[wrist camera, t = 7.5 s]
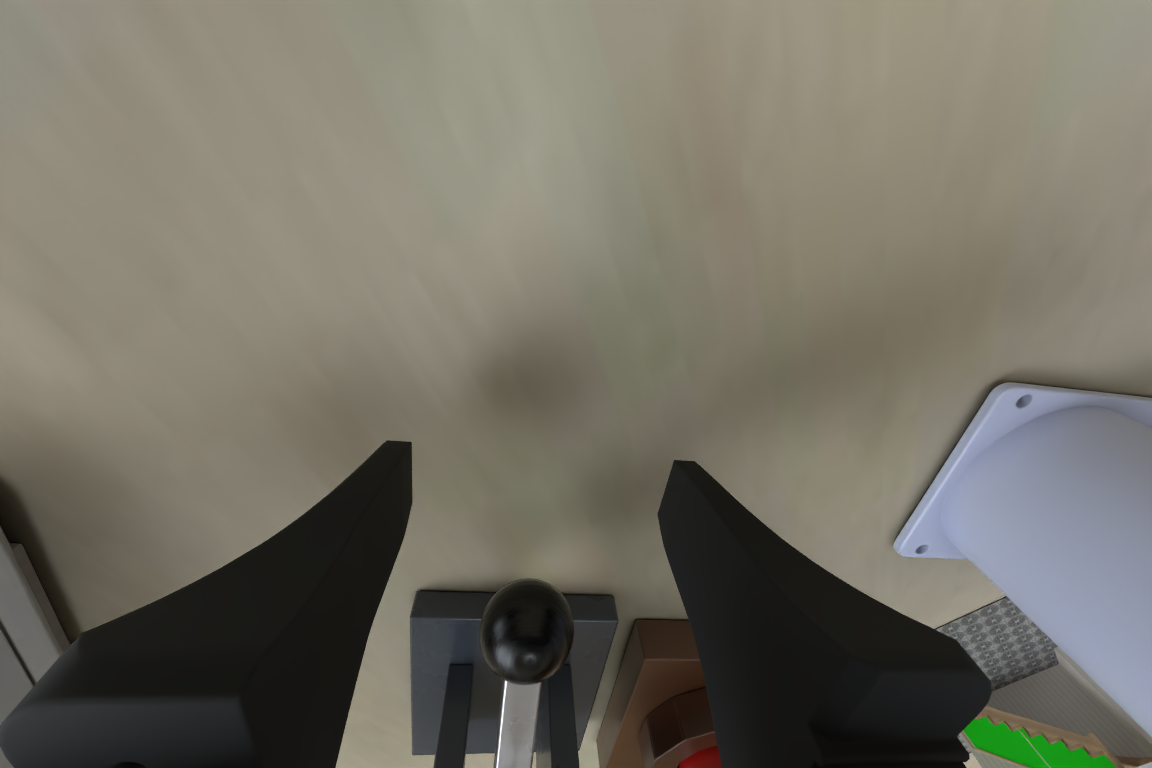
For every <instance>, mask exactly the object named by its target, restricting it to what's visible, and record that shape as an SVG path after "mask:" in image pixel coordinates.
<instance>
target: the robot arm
mask: <svg viewBox="0 0 1152 768" xmlns="http://www.w3.org/2000/svg"><path fill="white" fill-rule="evenodd" d="M411 506H412V442H403V441H389V440H387V441H386V442H385V443H383V444H382V445H381V446H380V447H379V448H378V449H377V450H376V451H375V452H374V453H373V454H372V455H371V456H370V457H369V458H368V459H367V460H366V461H365V462H364V463H363V464H362V465H361V466H359V467H358V468H357V469H356V470H355V471H354V472H353V473H352V474H351V475H350V476H349V477H348V478H346V479H345V480H344V481H343V482H342V483H341V484H340V485H339V486H337V487H336V488H335V489H334V490H333V491H332V492H331V493H329V494H328V495H327V496H326V497H325V498H323V499H322V500H321V501H320V502H318V503H317V504H316V505H315V506H313V507H312V508H311V509H310V510H308V511H307V512H306V513H305V514H303V515H302V516H301V517H299V518H298V519H297V520H295V521H294V522H293V523H291V524H290V525H288V526H287V527H286V528H284V529H283V530H281V531H280V532H278V533H277V534H276V535H274V536H273V537H271V538H270V539H268V540H267V541H265V542H264V543H262V544H260V545H259V546H257V547H255V548H254V549H252V550H250V551H249V552H247V553H245V554H243V555H242V556H240V557H238V558H237V559H235V560H233V561H232V562H230V563H228V564H227V565H225V566H223V567H222V568H220V569H218V570H216V571H214V572H212V573H211V574H209V575H207V576H205V577H203V578H201V579H199V580H197V581H195V582H194V583H192V584H190V585H188V586H186V587H184V588H182V589H180V590H178V591H176V592H174V593H172V594H170V595H168V596H165V597H163V598H161V599H159V600H157V601H155V602H153V603H151V604H148V605H146V606H144V607H142V608H139V609H137V610H135V611H133V612H130V613H128V614H126V615H123V616H121V617H119V618H117V619H114V620H112V621H110V622H108V623H105V624H103V625H101V626H98V627H96V628H94V629H91V630H89V631H86V632H84V633H82V634H81V635H80V636H79V637H78V638H77V639H76V640H75V641H74V642H73V643H72V645H71V646H70V647H69V648H68V649H67V650H66V651H65V652H64V653H63V654H62V655H61V656H60V657H59V658H58V659H57V660H56V661H55V663H54V664H53V665H52V666H51V667H50V668H49V669H48V671H47V672H46V673H45V674H44V675H43V676H42V677H41V679H40V680H39V681H38V682H37V683H36V684H35V685H34V687H33V688H32V689H31V690H30V691H29V692H28V693H27V695H26V696H25V697H24V698H23V699H22V700H21V702H20V703H19V704H18V705H17V706H16V707H15V708H14V710H13V711H12V712H11V713H10V714H9V715H8V716H7V718H6V719H5V720H4V721H3V722H2V723H1V725H0V747H1V749H2V751H3V753H4V755H5V757H6V759H7V760H8V761H9V762H10V764H11V765H12V766H13V767H14V768H335V767H336V763H337V758H338V754H339V750H340V746H341V742H342V737H343V733H344V729H345V725H346V721H347V717H348V713H349V709H350V705H351V701H352V697H353V693H354V689H355V685H356V681H357V677H358V673H359V670H360V666H361V662H362V658H363V654H364V651H365V647H366V643H367V639H368V636H369V633H370V629H371V626H372V623H373V620H374V617H375V614H376V612H377V609H378V606H379V604H380V601H381V598H382V596H383V593H384V590H385V588H386V585H387V582H388V580H389V577H390V574H391V571H392V569H393V566H394V563H395V561H396V558H397V555H398V552H399V550H400V547H401V544H402V541H403V539H404V535H405V531H406V527H407V523H408V519H409V514H410V510H411ZM658 519H659V524H660V530H661V535H662V540H663V544H664V548H665V551H666V554H667V557H668V560H669V563H670V566H671V569H672V572H673V575H674V578H675V581H676V584H677V587H678V590H679V592H680V595H681V598H682V601H683V604H684V607H685V610H686V613H687V616H688V618H689V621H690V625H691V628H692V631H693V635H694V638H695V642H696V646H697V651H698V655H699V659H700V663H701V667H702V672H703V676H704V681H705V685H706V690H707V695H708V700H709V704H710V709H711V714H712V719H713V724H714V730H715V735H716V740H717V746H718V751H719V756H720V762H721V768H966V766H965V765H964V764H963V762H966V761H968V760H969V759H970V758H969V753H968V751H967V750H966V749H965V747H964V746H963V744H962V743H961V742H960V740H959V739H958V737H957V736H958V735H959V734H960V733H961V732H962V731H963V730H964V729H965V728H966V727H967V726H968V725H969V724H970V723H971V722H972V721H973V720H974V719H975V718H976V717H977V716H978V715H979V714H980V713H981V711H982V710H983V709H984V708H985V706H986V705H987V704H988V702H989V699H990V697H991V694H992V686H991V681H990V679H989V678H988V677H987V676H986V675H985V673H984V672H983V671H982V670H981V669H980V667H979V666H978V665H977V664H976V663H975V661H974V660H973V659H972V658H971V657H970V655H969V654H968V653H967V652H966V651H965V649H964V648H963V647H962V646H961V645H960V643H959V642H958V641H957V640H956V639H954V638H952V637H949V636H947V635H945V634H943V633H941V632H939V631H937V630H935V629H932V628H930V627H928V626H926V625H924V624H922V623H920V622H918V621H915V620H913V619H911V618H909V617H907V616H905V615H903V614H901V613H899V612H897V611H895V610H893V609H892V608H890V607H888V606H886V605H884V604H882V603H880V602H879V601H877V600H875V599H873V598H871V597H869V596H868V595H866V594H864V593H862V592H861V591H859V590H857V589H855V588H854V587H852V586H850V585H849V584H847V583H846V582H844V581H842V580H841V579H839V578H838V577H836V576H834V575H833V574H831V573H830V572H828V571H826V570H825V569H823V568H822V567H820V566H819V565H817V564H816V563H814V562H813V561H812V560H810V559H809V558H807V557H806V556H805V555H803V554H802V553H800V552H799V551H798V550H796V549H795V548H794V547H792V546H791V545H789V544H788V543H787V542H786V541H784V540H783V539H782V538H780V537H779V536H778V535H777V534H775V533H774V532H773V531H772V530H771V529H769V528H768V527H767V526H766V525H765V524H763V523H762V522H761V521H760V520H759V519H757V518H756V517H755V516H754V515H753V514H752V513H751V512H749V511H748V510H747V509H746V508H745V507H744V506H743V505H742V504H741V503H739V502H738V501H737V500H736V499H735V498H734V497H733V496H732V495H731V494H730V493H729V492H728V491H726V490H725V489H724V488H723V487H722V486H721V485H720V484H719V483H718V482H717V481H716V480H715V479H714V478H713V477H712V476H711V475H709V474H708V473H707V472H706V471H705V470H704V469H703V468H702V467H701V466H700V465H698V464H697V463H696V462H695V461H682V460H674V462H673V466H672V469H671V472H670V475H669V479H668V482H667V485H666V488H665V492H664V495H663V498H662V501H661V505H660V508H659V511H658ZM893 546H894V549H895V550H896V551H897V552H898V553H899V554H900V555H901V556H904V557H924V558H948V559H969V560H970V561H971V562H972V563H973V564H974V565H975V566H976V567H977V568H978V569H979V570H980V571H981V572H982V573H983V574H984V575H985V576H986V577H987V578H988V579H989V580H990V581H991V582H992V583H993V584H994V585H995V586H996V587H997V588H999V589H1000V590H1001V591H1002V592H1003V593H1004V594H1005V595H1006V596H1007V597H1008V598H1009V599H1010V600H1011V601H1012V602H1013V603H1014V604H1015V605H1016V606H1017V607H1018V608H1019V609H1020V610H1021V611H1022V612H1023V613H1024V614H1025V615H1026V616H1027V617H1028V618H1029V619H1030V620H1031V621H1032V622H1034V623H1035V624H1036V625H1037V626H1038V627H1039V628H1040V629H1041V630H1042V631H1043V632H1044V633H1045V634H1046V635H1047V636H1048V637H1049V638H1050V639H1051V640H1052V641H1053V642H1054V643H1055V644H1056V645H1057V646H1058V647H1059V648H1060V649H1061V650H1062V651H1063V652H1064V653H1065V654H1066V655H1067V656H1069V657H1070V658H1071V659H1072V660H1073V661H1074V662H1075V663H1076V664H1077V665H1078V666H1079V667H1080V668H1081V669H1082V670H1083V671H1084V672H1085V673H1086V674H1087V675H1088V676H1089V677H1090V678H1091V679H1092V680H1093V681H1094V682H1095V683H1096V684H1097V685H1098V686H1099V687H1100V688H1101V689H1102V690H1104V691H1105V692H1106V693H1107V694H1108V695H1109V696H1110V697H1111V698H1112V699H1113V700H1114V701H1115V702H1116V703H1117V704H1118V705H1119V706H1120V707H1121V708H1122V709H1123V710H1124V711H1125V712H1126V713H1127V714H1128V715H1129V716H1130V717H1131V718H1132V719H1133V720H1134V721H1135V722H1136V723H1137V724H1139V725H1140V726H1141V727H1142V728H1143V729H1144V730H1145V731H1146V732H1147V733H1148V734H1149V735H1150V736H1151V737H1152V398H1148V397H1139V396H1130V395H1121V394H1112V393H1103V392H1094V391H1085V390H1076V389H1067V388H1058V387H1049V386H1040V385H1031V384H1022V383H1013V382H1008V383H1003V384H1001V385H998V386H997V387H995V388H994V389H993V390H992V391H991V392H990V394H989V395H988V397H987V398H986V400H985V402H984V403H983V405H982V406H981V408H980V409H979V411H978V412H977V414H976V416H975V417H974V419H973V420H972V422H971V423H970V425H969V426H968V428H967V430H966V431H965V433H964V434H963V436H962V437H961V439H960V440H959V442H958V444H957V445H956V447H955V448H954V450H953V451H952V453H951V454H950V456H949V458H948V459H947V461H946V462H945V464H944V465H943V467H942V468H941V470H940V472H939V473H938V475H937V476H936V478H935V479H934V481H933V482H932V484H931V486H930V487H929V489H928V490H927V492H926V493H925V495H924V496H923V498H922V500H921V501H920V503H919V504H918V506H917V507H916V509H915V510H914V512H913V514H912V515H911V517H910V518H909V520H908V521H907V523H906V524H905V526H904V528H903V529H902V531H901V532H900V534H899V535H898V537H897V538H896V540H895V542H894V545H893Z"/></svg>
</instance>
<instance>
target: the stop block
mask: <svg viewBox="0 0 1152 768" xmlns="http://www.w3.org/2000/svg"><path fill="white" fill-rule="evenodd" d="M713 746H717V740H716V735H715V730H714V724H713V719H712V714H711V709H710V704H709V700H708V695H707V690H706V685H705V681H704V676H703V672H702V667H701V663H700V659H699V655H698V651H697V646H696V642H695V638H694V635H693V631H692V628H691V625H690V621H686V620H636V622H635V625H634V628H633V631H632V634H631V637H630V640H629V643H628V646H627V649H626V652H625V655H624V658H623V661H622V664H621V667H620V670H619V673H618V676H617V680H616V683H615V686H614V689H613V692H612V695H611V698H610V701H609V704H608V707H607V710H606V713H605V716H604V719H603V722H602V725H601V728H600V731H599V734H598V737H597V749H598V758H599V766H600V768H679V764H680V762H682V761H683V760H685V759H686V758H688V757H690V756H691V755H693V754H694V753H696V752H697V751H700V750H703V749H706V748H710V747H713Z"/></svg>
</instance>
